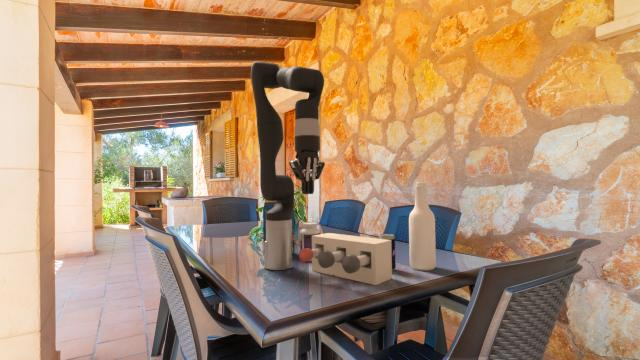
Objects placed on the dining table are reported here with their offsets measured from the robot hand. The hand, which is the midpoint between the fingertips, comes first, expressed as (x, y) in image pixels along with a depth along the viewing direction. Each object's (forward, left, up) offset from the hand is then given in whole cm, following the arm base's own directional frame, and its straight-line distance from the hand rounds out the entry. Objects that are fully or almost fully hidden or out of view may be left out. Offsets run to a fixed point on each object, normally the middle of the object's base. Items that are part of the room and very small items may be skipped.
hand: (308, 193), depth 102 cm
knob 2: (+14, +2, -23) cm, 27 cm away
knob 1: (+6, +7, -23) cm, 24 cm away
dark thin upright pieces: (-24, +41, -27) cm, 55 cm away
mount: (+10, +14, -27) cm, 32 cm away
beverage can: (+22, +22, -27) cm, 41 cm away
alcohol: (+34, +27, -27) cm, 51 cm away
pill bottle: (-8, +33, -27) cm, 44 cm away
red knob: (-2, +12, -22) cm, 25 cm away
